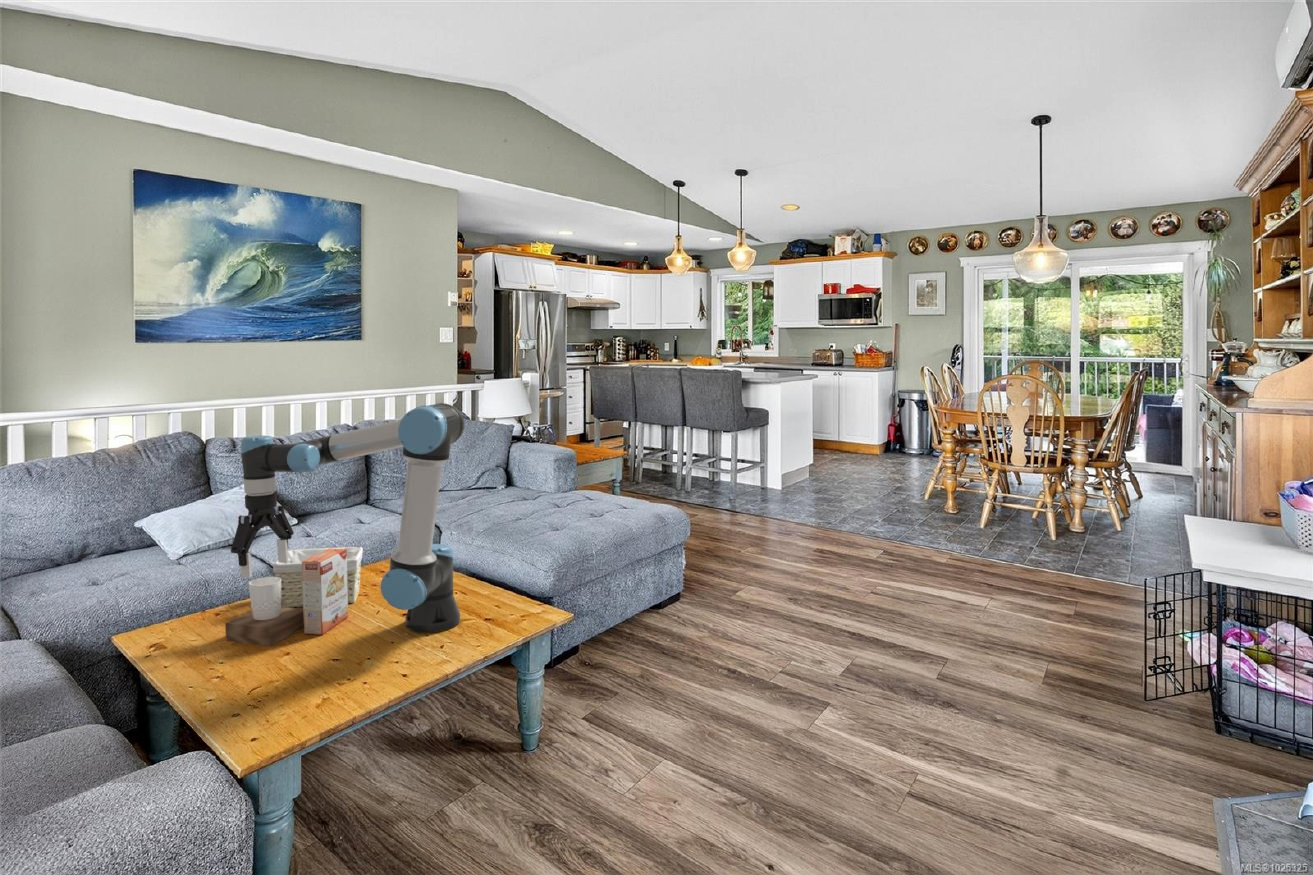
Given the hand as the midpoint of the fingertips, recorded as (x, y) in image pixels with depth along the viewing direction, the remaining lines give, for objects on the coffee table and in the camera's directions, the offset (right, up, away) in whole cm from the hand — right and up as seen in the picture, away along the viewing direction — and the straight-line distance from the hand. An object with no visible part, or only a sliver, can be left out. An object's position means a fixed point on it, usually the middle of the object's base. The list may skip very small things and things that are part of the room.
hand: (265, 569), depth 195 cm
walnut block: (-1, -18, +2) cm, 18 cm away
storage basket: (+1, -15, +30) cm, 34 cm away
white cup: (-1, -13, +2) cm, 14 cm away
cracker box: (+13, -18, +9) cm, 24 cm away
